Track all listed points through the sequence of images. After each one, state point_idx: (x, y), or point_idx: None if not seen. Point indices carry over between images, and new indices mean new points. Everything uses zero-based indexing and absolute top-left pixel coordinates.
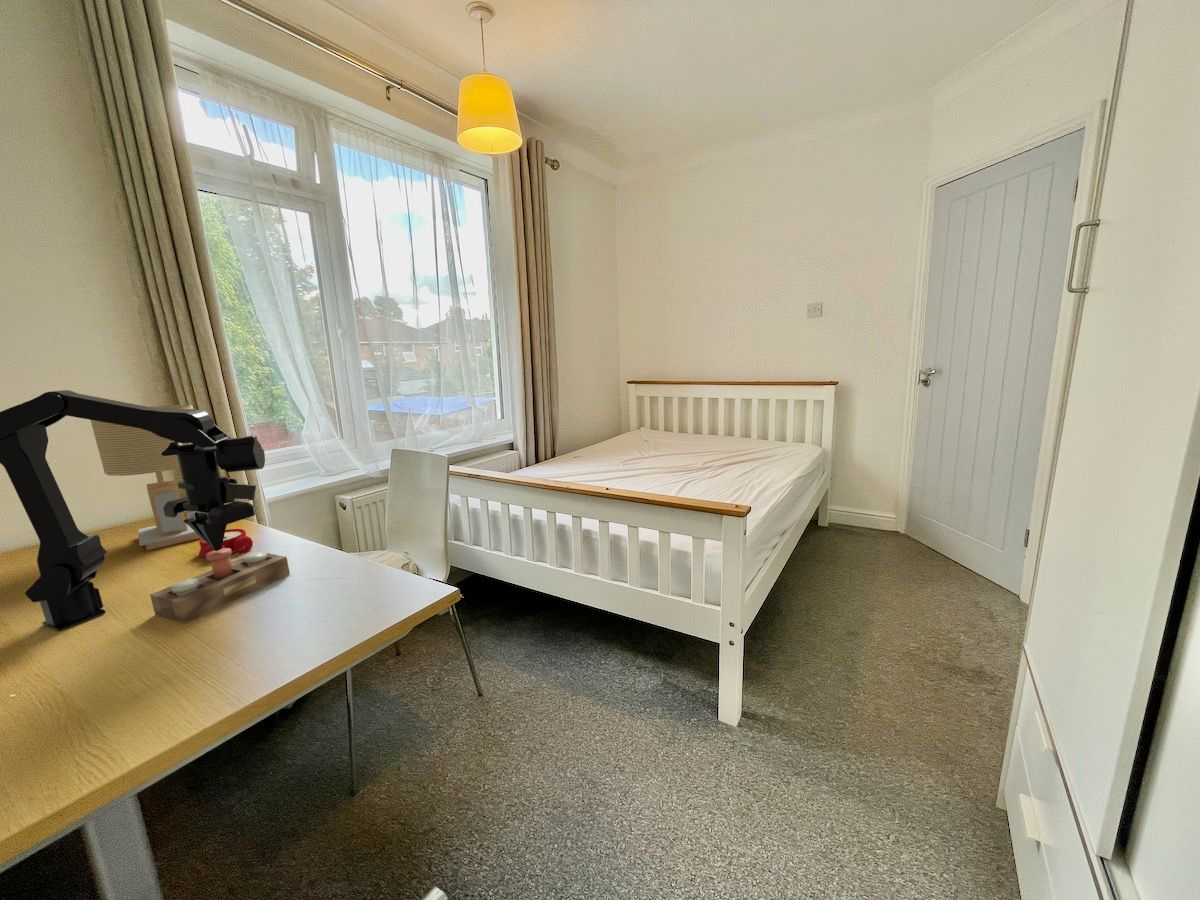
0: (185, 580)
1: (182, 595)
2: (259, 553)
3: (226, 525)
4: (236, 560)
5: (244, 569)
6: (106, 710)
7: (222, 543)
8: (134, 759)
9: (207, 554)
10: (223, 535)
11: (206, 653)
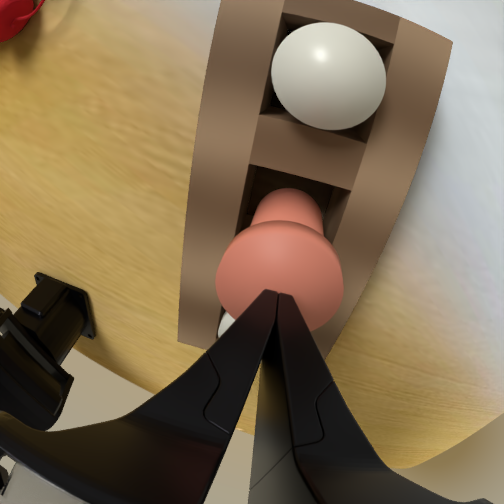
0: (229, 322)
1: None
2: (327, 44)
3: (373, 450)
4: (206, 82)
5: (352, 176)
6: (380, 438)
7: (304, 320)
8: (445, 447)
9: (238, 315)
10: (324, 370)
11: (434, 383)
